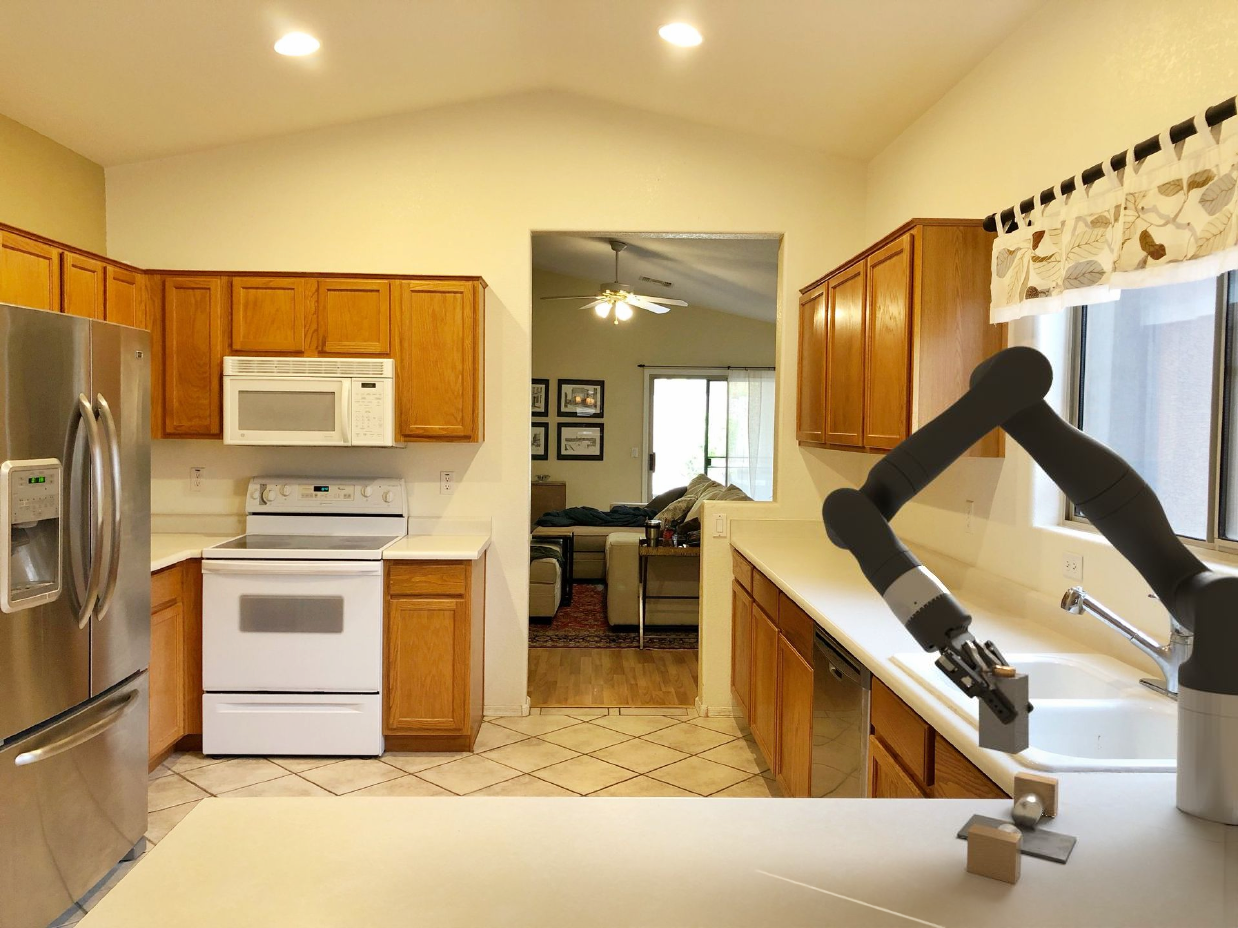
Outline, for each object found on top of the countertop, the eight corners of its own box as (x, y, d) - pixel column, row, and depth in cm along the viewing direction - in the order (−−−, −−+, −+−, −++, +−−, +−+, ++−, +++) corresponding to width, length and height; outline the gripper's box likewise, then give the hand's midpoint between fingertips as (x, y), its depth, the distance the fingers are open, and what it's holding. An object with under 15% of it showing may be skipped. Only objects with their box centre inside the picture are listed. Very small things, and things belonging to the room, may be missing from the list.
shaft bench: (991, 797, 122) (991, 765, 122) (1086, 818, 115) (1087, 784, 115) (934, 862, 98) (935, 823, 99) (1050, 893, 92) (1051, 851, 92)
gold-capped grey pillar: (978, 746, 107) (978, 667, 108) (992, 740, 110) (992, 663, 111) (1015, 754, 104) (1015, 672, 105) (1028, 747, 107) (1028, 668, 108)
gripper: (920, 593, 108) (1021, 708, 99) (968, 587, 118) (1063, 690, 109) (881, 631, 112) (975, 745, 103) (931, 621, 122) (1020, 724, 113)
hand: (1020, 716), depth 106 cm, fingers closed on gold-capped grey pillar, 4 cm apart
